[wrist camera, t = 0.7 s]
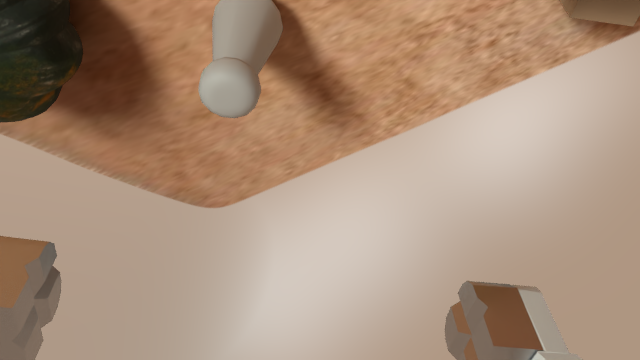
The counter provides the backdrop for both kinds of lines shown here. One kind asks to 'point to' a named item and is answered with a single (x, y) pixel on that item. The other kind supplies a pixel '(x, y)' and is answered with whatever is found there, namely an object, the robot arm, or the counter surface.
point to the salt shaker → (239, 55)
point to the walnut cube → (604, 10)
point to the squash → (35, 55)
